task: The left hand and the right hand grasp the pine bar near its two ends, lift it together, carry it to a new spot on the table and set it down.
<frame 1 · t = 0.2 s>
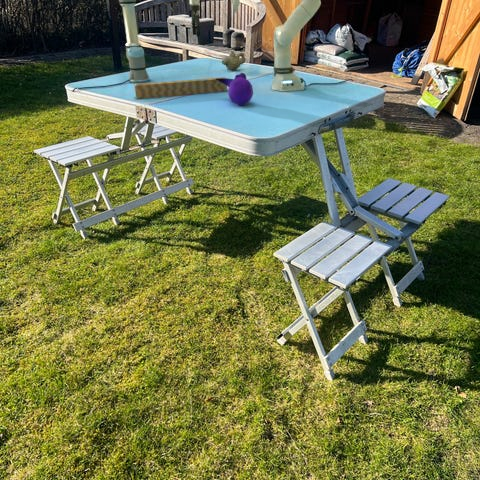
left hand: (196, 35, 349), 28 cm above the table, tool pointing down, fingers open, 13 cm apart
right hand: (235, 12, 281), 47 cm above the table, tool pointing down, fingers open, 8 cm apart
toy: (236, 102, 276), on the table
bar: (182, 94, 298), on the table
teapot: (233, 70, 372), on the table
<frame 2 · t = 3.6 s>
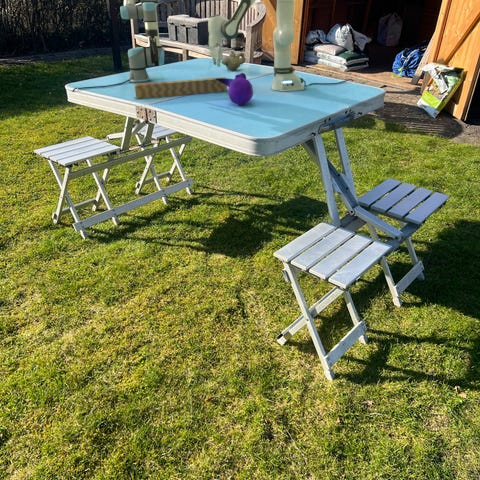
left hand: (155, 64, 297), 18 cm above the table, tool pointing down, fingers open, 13 cm apart
right hand: (216, 65, 296), 16 cm above the table, tool pointing down, fingers open, 8 cm apart
nothing on the table moved.
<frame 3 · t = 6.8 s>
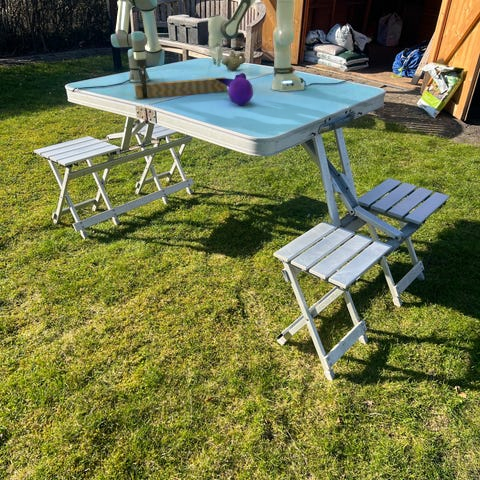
left hand: (144, 96, 292), 1 cm above the table, tool pointing down, fingers closed on bar, 6 cm apart
right hand: (216, 65, 296), 16 cm above the table, tool pointing down, fingers open, 8 cm apart
bar: (182, 94, 298), on the table, touching left hand
everything else where it was.
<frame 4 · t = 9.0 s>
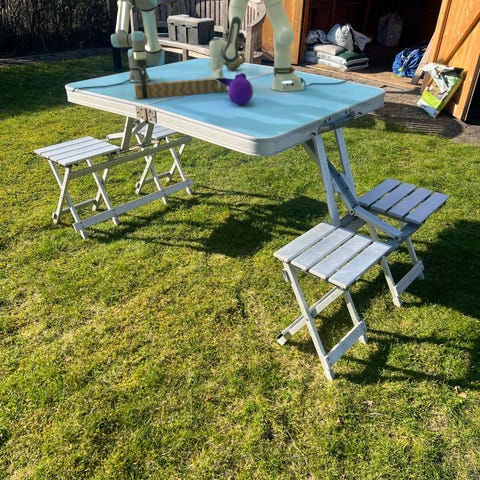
left hand: (144, 96, 292), 1 cm above the table, tool pointing down, fingers closed on bar, 6 cm apart
right hand: (217, 86, 303), 3 cm above the table, tool pointing down, fingers closed on bar, 5 cm apart
bar: (182, 94, 298), on the table, touching left hand, right hand
everything else where it was.
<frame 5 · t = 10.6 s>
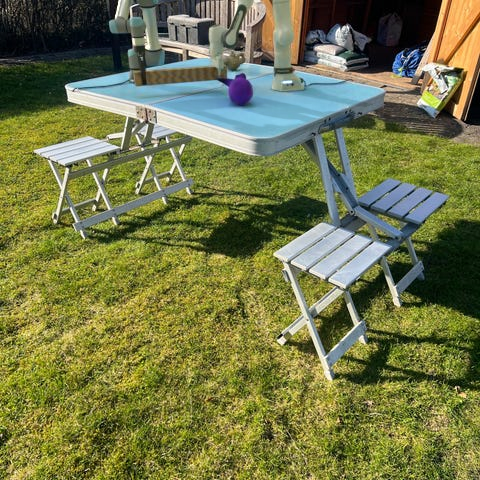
left hand: (144, 83, 289), 8 cm above the table, tool pointing down, fingers closed on bar, 6 cm apart
right hand: (217, 74, 299), 11 cm above the table, tool pointing down, fingers closed on bar, 5 cm apart
bar: (181, 81, 295), point 8 cm above the table, touching left hand, right hand
everything else where it was.
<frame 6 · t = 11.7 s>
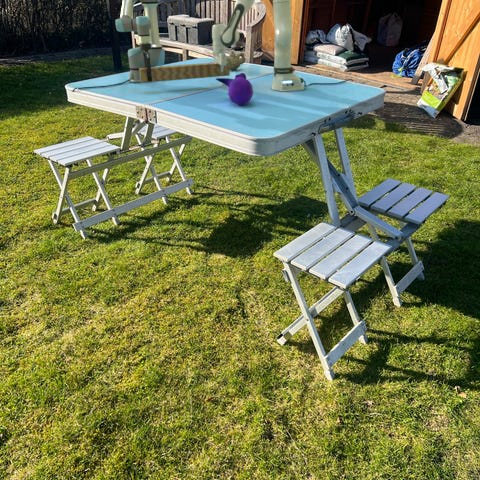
left hand: (149, 80, 300), 8 cm above the table, tool pointing down, fingers closed on bar, 6 cm apart
right hand: (220, 70, 310), 11 cm above the table, tool pointing down, fingers closed on bar, 5 cm apart
bar: (185, 78, 306), point 8 cm above the table, touching left hand, right hand
everything else where it was.
when the left hand's fingers open (2 cm above the table, at t = 14.3 s): bar drops 1 cm, on the table.
when the right hand's fingers open (5 cm above the table, at t = 14.5 s): bar stays where it is, on the table.
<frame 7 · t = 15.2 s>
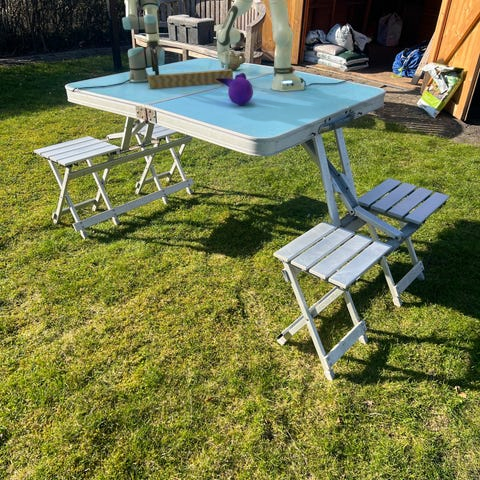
left hand: (155, 73, 313), 10 cm above the table, tool pointing down, fingers open, 13 cm apart
right hand: (224, 68, 325), 9 cm above the table, tool pointing down, fingers open, 8 cm apart
bar: (191, 85, 324), on the table
everything else where it was.
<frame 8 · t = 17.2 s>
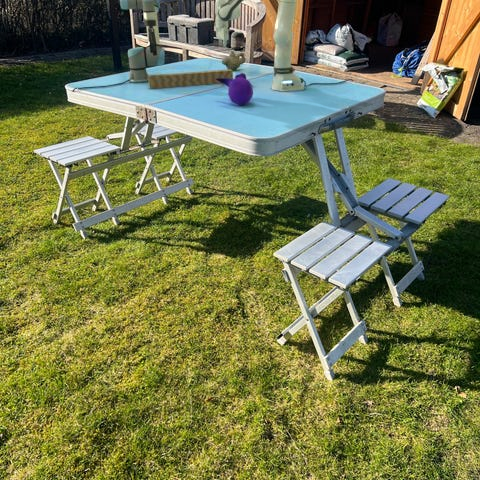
left hand: (153, 54, 306), 22 cm above the table, tool pointing down, fingers open, 13 cm apart
right hand: (222, 46, 317), 25 cm above the table, tool pointing down, fingers open, 8 cm apart
nothing on the table moved.
at the end: bar inside the target area (0.2 cm from its centre), on the table; bar tilted 0°; bar never tilted more than 1° during the clip; both hands held the bar at the same time; the left hand is holding nothing; the right hand is holding nothing; bar at rest at the end (0.0 cm/s) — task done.
